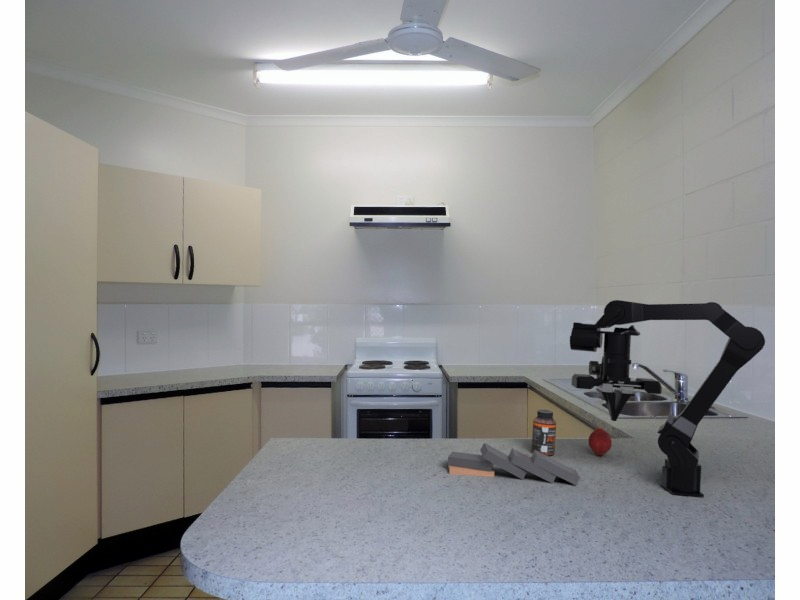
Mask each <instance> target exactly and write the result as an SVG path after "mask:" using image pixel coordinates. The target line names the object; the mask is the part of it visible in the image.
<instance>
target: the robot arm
mask: <svg viewBox="0 0 800 600" xmlns="http://www.w3.org/2000/svg"><path fill="white" fill-rule="evenodd" d="M646 321H647V322H648V321H708V322H710V323H711V324H712V325H713V326H715V327H716V328H717V329H718V330H720V331H721V333H723V334H724V335H725V336H727V337H728V338H727V341H726V344H725V346H724V348H723V351H722V352H721V354H720V355H721V356H720V357H719V360H718V361H717V362H716V364H715V365H714V367H713V368H712V370H711V371H710V373H709V374H708V375H707V377H706V378H705V379H704V381H703V382H702V384H701V385H700V386H699V388H698V389H697V390H696V392H695V393H694V395H693V396H692V398H691V399H690V401H688V403H687V405H686V406H685V407H684V408H683V410H682V411H681V412H680V413H679V414H677V415H676V416H674V415H673V414H672V413H669V414H668V416H667V418H666V421H665V422H664V423H663V424H661V425H660V426H659V428H658V430H657V434H659V435H658V438H657V445H658V448H659V450H660V451H661V452H662V453H663V454H664V455H666V458H665V459H664V465H663V466H662V467H661V470H662V471H661V481H660V485H661V486H662V487H663V488H664V489H665V490H666V491H668V492H669V493H670V494H672V495H678V496H689V497H698V498H699V497H700V498H703V497H705V493H703V492H702V491H701V481H702V465H701V464H699V457H700V455H699V454H700V452H699V450H698V449H697V448H696V447H695V446H694V445H693V444H692V441H693V437H694V436H695V433H696V430H697V428H698V425H699V423H700V422H701V421H702V420H703V418H704V417H705V416H706V414H707V413H708V411H709V410H710V409H711V407H712V406H713V405H714V403H715V402H716V401H717V399H718V398H719V397H720V396H721V393H722V392H723V391H724V390H725V388H726V387H727V385H728V384H729V382H730V381H731V380H732V379H733V377H734V376H735V375H736V374H737V372H738V371H739V370H740V369H741V368H742V367H743V366H745V365H746V364H747V363H748V362H750V361H751V360H752V359H753V358H754V357H756V355H758V354H759V353H760V352H761V351H762V350H763V349H764V346H765V344H766V338H765V336H764V334H763V333H762V331H760V330H759V329H757V328H756V327H753V326H746V325H744V324H743V323H742V322H741V321H740V320H738V319H737V318H736V317H734V316H732V315H731V314H730V313H729V312H727V311H726V310H725V309H724V308H723V307H722V306H721V305H720V303H717V302H714V301H709V302H705V303H704V302H703V303H664V304H663V303H657V304H654V303H653V304H652V303H651V304H649V303H641V302H635V301H627V300H626V301H625V300H620V299H615V300H611V301H609V302H608V303H606V305H605V306H604V309H603V315H602V316H601V317H600V318H599V319H598V320H597V321H596V322H595V324H592V323H582V322H573V323H572V329H571V332H570V335H569V349H570V350H572V351H581V352H593V353H596V352H597V350H598V349H601V348H602V347H603V353H602V354H603V356H601V361H600V362H601V363H600V362H599V361H598V360H590V361H589V362H588V374H586V373H585V374H582V373H574V374H573V375H572V376H571V386H572V387H574V388H576V389H579V390H580V389H581V390H592V389H594V387H596V388H595V391H597V392H598V393H600V394H601V395H602V396H603V399H604V401H605V404H606V406H607V407H606V408H607V410H608V413H609V418H610V421H612V422H617V421H618V419H619V416H620V414H621V412H622V410H623V409H624V407H625V405H626V404H627V403H628V401H629V400H630V399H631V397H635V396H636V393H634V392H633V391H634V390H642V391H645V392H646V393H647V394H652V395H661V394H662V388H663V387H662V383H661V382H660V381H659V380H656V379H653V378H643V377H636V378H635V380H631V377H630V365H632V359H631V344H632V343H631V342H632V341H631V340H632V339H631V338H632V336H636V337H639V336H640V335H641V332H640V331H638V329H636V328H635V325H630V324H634V323H635V324H636V323H641V322H646ZM621 325H623V326H625V325H630V326H629V327H618V326H621ZM614 326H617V327H614ZM612 327H614V329H613V331H608V330H607V331H606V330H602V329H610V328H612ZM603 335H604V336H603ZM603 337H604V338H603ZM594 376H596V378H595V377H594Z"/></svg>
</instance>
